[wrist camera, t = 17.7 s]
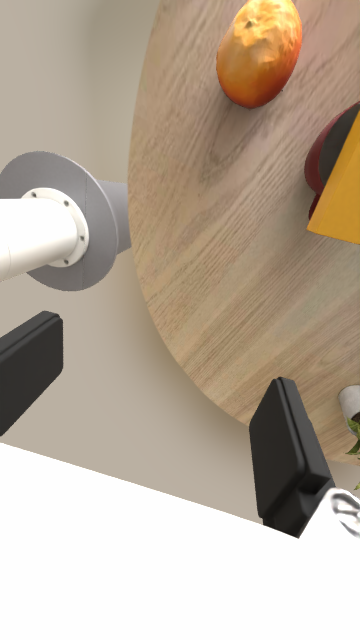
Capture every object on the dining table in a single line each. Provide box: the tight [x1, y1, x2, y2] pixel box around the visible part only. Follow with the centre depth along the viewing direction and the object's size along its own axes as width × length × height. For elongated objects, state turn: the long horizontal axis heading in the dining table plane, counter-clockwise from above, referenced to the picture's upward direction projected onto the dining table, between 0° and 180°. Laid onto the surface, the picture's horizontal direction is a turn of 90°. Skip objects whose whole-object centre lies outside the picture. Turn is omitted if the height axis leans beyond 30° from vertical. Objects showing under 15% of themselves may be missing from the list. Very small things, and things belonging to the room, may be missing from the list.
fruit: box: [216, 0, 302, 110], centre depth 26 cm, size 8×8×8 cm
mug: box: [304, 101, 360, 221], centre depth 27 cm, size 11×8×10 cm
